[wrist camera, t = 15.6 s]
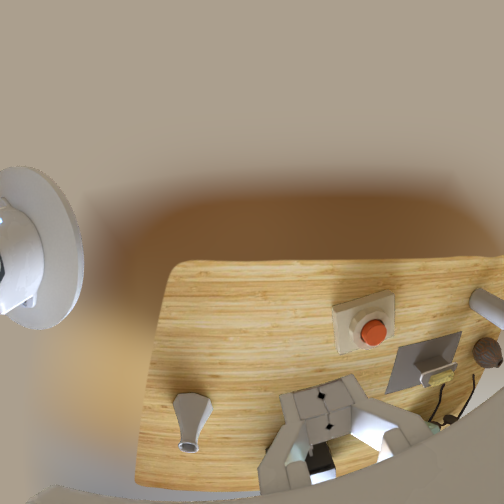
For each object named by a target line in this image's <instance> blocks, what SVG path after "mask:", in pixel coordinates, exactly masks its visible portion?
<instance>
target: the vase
mask: <svg viewBox="0 0 504 504" xmlns="http://www.w3.org/2000/svg"><path fill="white" fill-rule="evenodd" d="M473 355H474V359H475V361H476V362H477V364H478V365H480V366H481V367H483V368H493V367H496V368H498V367H499V366H500V365H501V364H502V362H503V358H502V353H501V348H500V346H499V344H498V342H497V341H495V340H494V339H492V338H489V337H485V338H482V339H480V340H479V341H478V342H477V343H476V345H475V347H474V350H473Z"/></svg>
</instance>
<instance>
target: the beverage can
mask: <svg viewBox="0 0 504 504" xmlns="http://www.w3.org/2000/svg"><path fill="white" fill-rule="evenodd" d="M469 304H470V308H471V309H472V310H474V311H476V312H477V313H478V314H480V315H481V316H483V317H484V318H486V319H487V320H489V321H490V322H492V323H493V324H495V325H496V326H498V327H499V328H501V329H502V330H504V300H502V299H500V298H498V297H497V296H495V295H493V294H491V293H489V292H487V291H486V290H484V289H482V288H478V289H476V290H475V291H474V292H473V293H472V295H471V297H470V300H469Z"/></svg>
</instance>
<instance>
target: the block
mask: <svg viewBox="0 0 504 504" xmlns="http://www.w3.org/2000/svg"><path fill="white" fill-rule="evenodd" d="M331 309H332V318H333V327H334V337H335V347H336V350H337V351H338V353H339V355H343V354H346V353H349V352H352V351H355V350H358V349H365V350H369V349H372V348H374V347H377V346H379V345H380V344H381V343H382V342H383V341H384V340H386V339H388V338H391V337H394V325H395V294H394V293H393V292H391V291H390V290H389V289H387V290H384V291H381V292H377V293H374V294H371V295H368V296H365V297H362V298H359V299H355V300H352V301H349V302H345V303H342V304H339V305H335V306H332V307H331ZM371 320H378V321H380V322H381V323H382V324H383V325H384V326H385V327H386V329H387V334H386V337H385V339H384V340H383V341H382V342H381V343H380V344H378V345H376V346H370V345H368V344H367V343H366V342H365V340H364V339H363V338H362V336H361V331H362V328H363V327H364V325H365V324H366V323H368V322H369V321H371Z"/></svg>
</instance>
